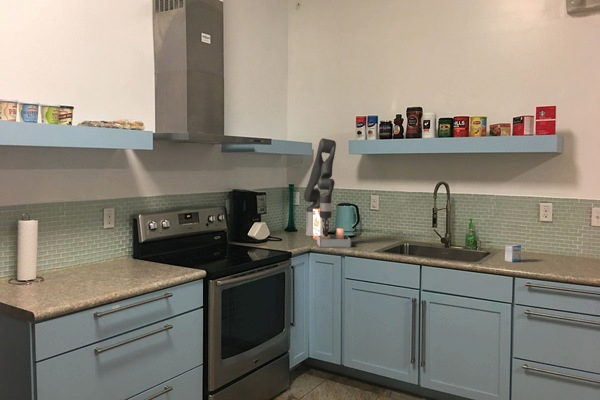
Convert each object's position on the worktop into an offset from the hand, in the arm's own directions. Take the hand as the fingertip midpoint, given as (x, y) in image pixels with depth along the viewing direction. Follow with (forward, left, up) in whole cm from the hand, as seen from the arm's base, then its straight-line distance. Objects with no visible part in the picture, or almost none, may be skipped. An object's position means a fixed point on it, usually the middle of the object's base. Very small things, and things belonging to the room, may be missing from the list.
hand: (325, 235), depth 318 cm
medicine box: (+54, +95, -6) cm, 110 cm away
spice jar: (0, +9, -6) cm, 11 cm away
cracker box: (-20, -1, -6) cm, 21 cm away
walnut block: (0, 0, -6) cm, 6 cm away
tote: (0, +5, -6) cm, 8 cm away
